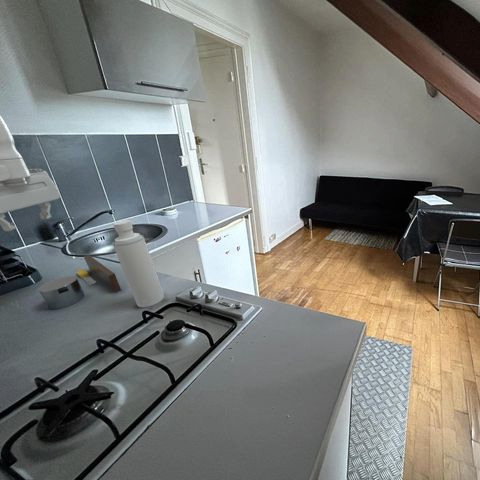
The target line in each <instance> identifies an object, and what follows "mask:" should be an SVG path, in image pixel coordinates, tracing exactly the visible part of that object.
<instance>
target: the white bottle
mask: <svg viewBox="0 0 480 480" xmlns="http://www.w3.org/2000/svg"><path fill="white" fill-rule="evenodd" d="M112 225H113V227H114V230H115V232H116V233H117V234H118V236H117V237H115V238H114V240H113V241H112V246H113V249H114V251H115V254H116V256H117V258H118V261H119V264H120V266H121V269H122V272H123V274H124V276H125V279H126V282H127V284H128V286H129V288H130V291H131V294H132V297H133V298H134V301H135V303H136V306H137V307H138V308H150V307H152V306H155V305H157V304H159V303H161V301H163V300H164V298H165V294H164V291H163V288H162V285H161V283H160V279H159V277H158V274H157V271H156V268H155V266H154V261H153V259H152V256H151V253H150V250H149V248H148V245H147V242H146V240H145V237H144V235H143V234H140V233H138V232H134V230H133V229H134V227H133V224H132V221H131V220H130V219H124V220H119V221H116V222H114V223H113V224H112Z"/></svg>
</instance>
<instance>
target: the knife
mask: <svg viewBox="0 0 480 480" xmlns="http://www.w3.org/2000/svg"><path fill="white" fill-rule="evenodd" d="M76 274H77V276H78V277H80V279H82V280H84V281H85V282H86V283H87V284H88V285H89V286H93V285H96V284H97V283H98V282H97V281H96V280H95V279H94V278H92V277H91V276H90V274H89V272H88V271H87V270H86V269H85V268H83V269H79V270H77V271H76Z"/></svg>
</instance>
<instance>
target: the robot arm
mask: <svg viewBox="0 0 480 480" xmlns="http://www.w3.org/2000/svg"><path fill="white" fill-rule="evenodd" d="M60 198H61V193H60V191H59V189H58V187H57V186H56V184H55V182H54V181H53V180H52V177H50V175H49V173H48V172H47V171H46V170H44V169H42V168H40V167H34V168H28V167H27V164H26V162H25V160H24V158H23V155H22V154H21V153H20V152H19V151H18V150H17V148H16V145H15V139H14V137H13V135H12V133H11V131H10V129H9V126H8V125H7V123H6V121H5V119H4V118H3V117H2V115H1V114H0V227H1V229H2V230H3V231H4V232H11V231H14V230H17V226H16V224H15V223H14V222H9V221H8V220H6V219H5V218H6V215H5V214H6V213H10V212H14V211H18V210H21V209H22V210H23V209H25V208H30V207H33V206H38V207H40V212H39V213H38V216H39V219H40V220H42V221H43V220H49V219H52V215H51V213H50V212H51V207H52V205H51V203H50V202H53V201H57V200H59V199H60Z"/></svg>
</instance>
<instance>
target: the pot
mask: <svg viewBox="0 0 480 480" xmlns="http://www.w3.org/2000/svg"><path fill="white" fill-rule="evenodd" d="M38 292H39V294H40V295H41V297H42V299H43V301H44V303H45V304H46V306H47V308H48V309H49V310H54V311H55V310H62V309H64V308H65V309H66V308H68V307H71V306H73V305H75V304H77V303H78V302H80V301H82V300H83V299H84V298H85V296H86V295H85V293H84V290H83V288H82V286H81V284H80V281H79V280H78V278H77V276H75V275H69V276H68V275H67V276H62V277H58V278H56V279H53V280H50V281H48V282H46V283H43V284H42V285H41V286H39V287H38Z"/></svg>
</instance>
